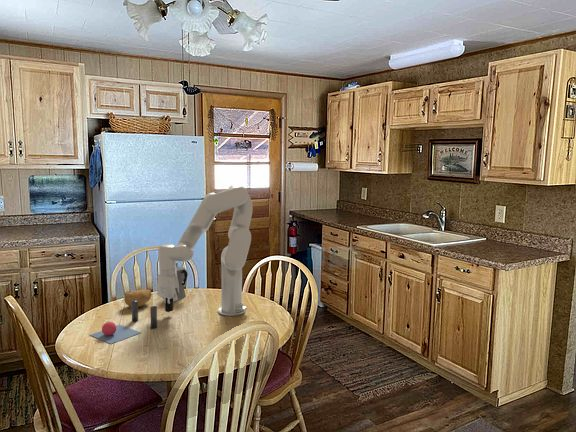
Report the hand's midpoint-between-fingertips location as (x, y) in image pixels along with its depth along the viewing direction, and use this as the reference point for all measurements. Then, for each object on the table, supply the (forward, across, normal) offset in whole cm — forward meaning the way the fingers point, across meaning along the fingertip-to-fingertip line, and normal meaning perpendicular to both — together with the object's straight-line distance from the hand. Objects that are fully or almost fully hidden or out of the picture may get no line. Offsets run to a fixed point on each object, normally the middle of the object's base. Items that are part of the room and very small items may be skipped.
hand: (169, 311), depth 203 cm
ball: (-1, -1, -30) cm, 30 cm away
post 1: (+2, -7, -14) cm, 15 cm away
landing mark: (+2, 0, -28) cm, 28 cm away
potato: (+2, -22, 0) cm, 22 cm away
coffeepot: (+3, -18, +20) cm, 27 cm away
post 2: (+2, +6, -14) cm, 15 cm away
